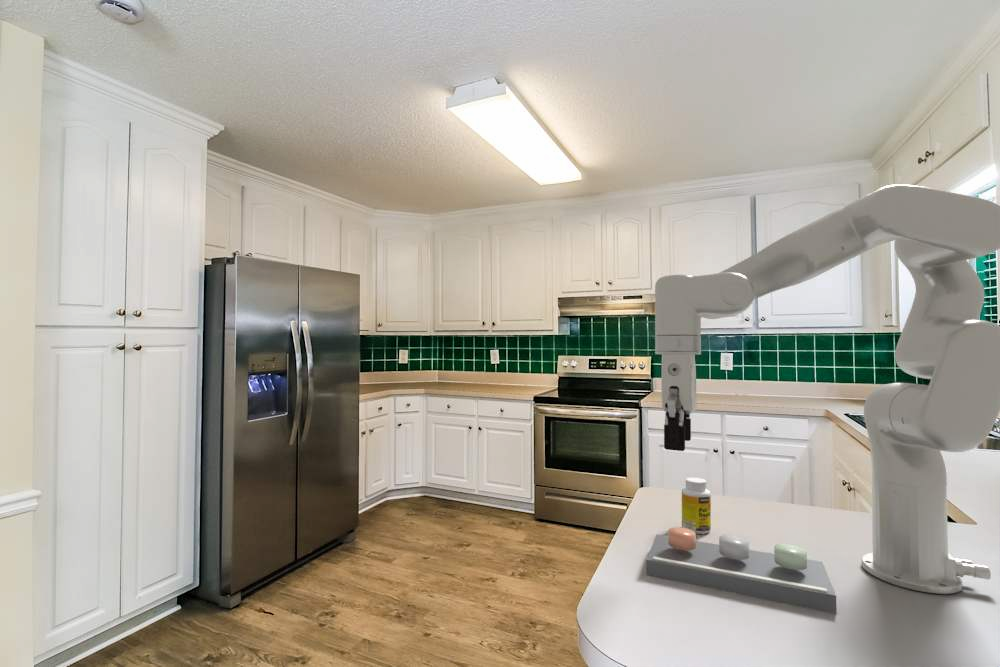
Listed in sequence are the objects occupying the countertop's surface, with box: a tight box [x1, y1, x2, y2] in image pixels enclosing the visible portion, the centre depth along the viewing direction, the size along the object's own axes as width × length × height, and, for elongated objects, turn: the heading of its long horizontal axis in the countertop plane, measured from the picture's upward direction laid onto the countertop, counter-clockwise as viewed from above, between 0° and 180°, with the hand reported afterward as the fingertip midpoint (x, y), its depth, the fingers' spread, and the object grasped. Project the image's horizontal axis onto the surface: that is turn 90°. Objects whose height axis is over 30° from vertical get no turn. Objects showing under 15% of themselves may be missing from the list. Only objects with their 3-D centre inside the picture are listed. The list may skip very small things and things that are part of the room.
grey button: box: [718, 534, 750, 560], centre depth 79 cm, size 4×4×2 cm
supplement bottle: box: [681, 477, 712, 535], centre depth 99 cm, size 6×6×10 cm
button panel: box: [645, 534, 837, 614], centre depth 79 cm, size 26×12×3 cm, turn 64°
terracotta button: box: [667, 526, 697, 550], centre depth 83 cm, size 4×4×2 cm
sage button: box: [773, 543, 808, 570], centre depth 76 cm, size 4×4×2 cm
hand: (678, 444), depth 84 cm, fingers open, 9 cm apart
